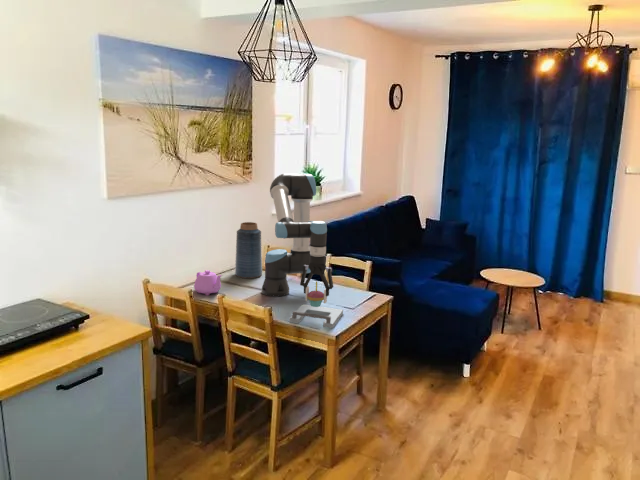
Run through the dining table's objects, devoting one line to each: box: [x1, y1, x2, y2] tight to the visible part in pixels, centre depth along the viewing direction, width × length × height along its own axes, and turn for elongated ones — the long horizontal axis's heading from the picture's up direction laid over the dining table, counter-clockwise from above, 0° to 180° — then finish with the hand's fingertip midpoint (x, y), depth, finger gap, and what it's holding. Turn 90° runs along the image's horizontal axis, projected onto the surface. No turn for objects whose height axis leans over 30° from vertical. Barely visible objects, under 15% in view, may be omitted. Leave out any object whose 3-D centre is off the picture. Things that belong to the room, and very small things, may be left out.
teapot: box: [193, 269, 223, 296], centre depth 281 cm, size 20×14×12 cm
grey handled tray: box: [288, 304, 344, 329], centre depth 251 cm, size 21×20×5 cm
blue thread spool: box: [234, 221, 263, 279], centre depth 314 cm, size 16×16×32 cm
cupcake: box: [307, 280, 324, 307], centre depth 246 cm, size 9×8×12 cm
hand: (316, 301), depth 247 cm, fingers closed on cupcake, 8 cm apart
